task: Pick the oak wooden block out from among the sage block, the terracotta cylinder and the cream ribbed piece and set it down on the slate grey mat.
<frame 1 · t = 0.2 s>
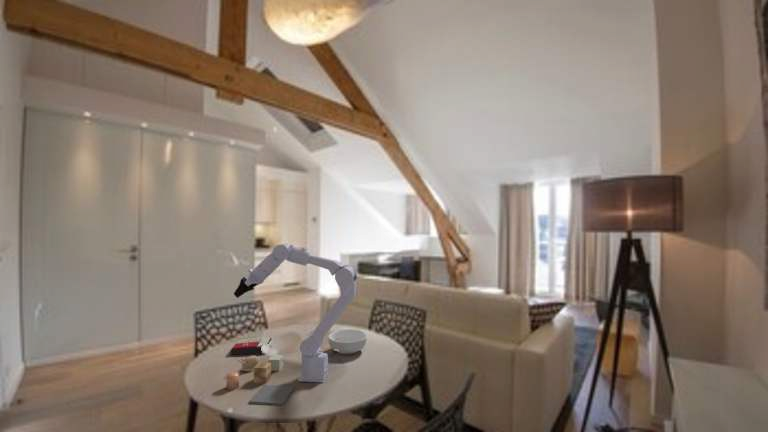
hand: (240, 292, 130), 31 cm above the table, tool tilted 45°, fingers open, 7 cm apart
cream ribbed piece: (249, 370, 134), on the table
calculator: (252, 351, 153), on the table
sage block: (276, 368, 135), on the table
terracotta cylinder: (232, 387, 120), on the table
oak block: (262, 380, 125), on the table
cereal bowl: (347, 351, 153), on the table
slate mat: (272, 395, 114), on the table
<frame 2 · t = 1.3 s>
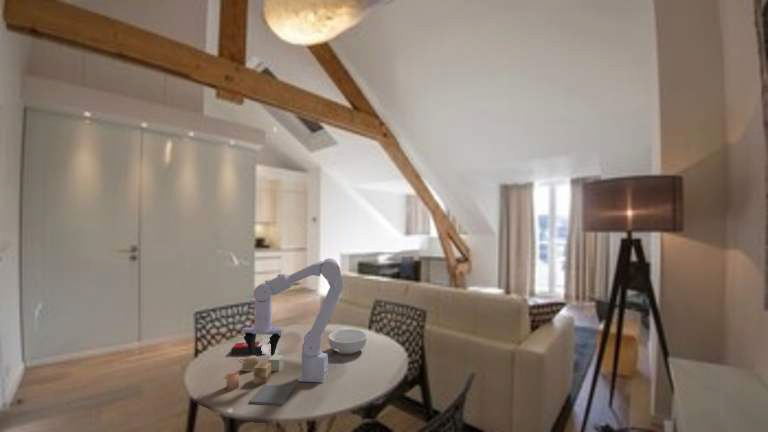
hand: (262, 354, 125), 9 cm above the table, tool pointing down, fingers open, 7 cm apart
nothing on the table moved.
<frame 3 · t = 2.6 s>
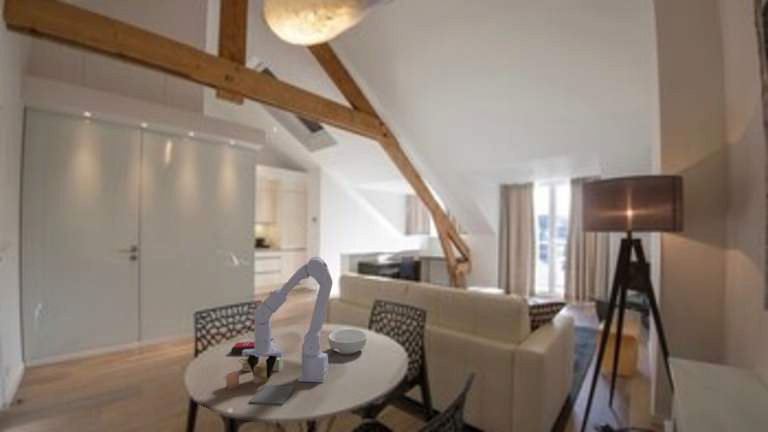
hand: (262, 376, 125), 1 cm above the table, tool pointing down, fingers closed on oak block, 4 cm apart
oak block: (262, 380, 125), on the table, touching gripper
everything else where it was.
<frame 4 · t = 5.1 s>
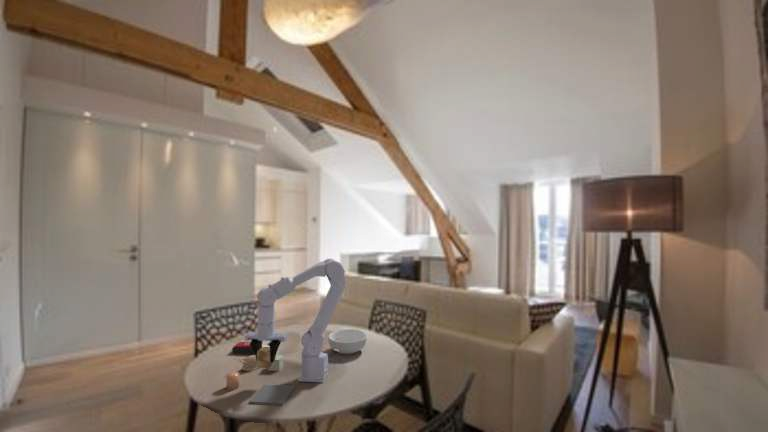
hand: (265, 360, 122), 8 cm above the table, tool pointing down, fingers closed on oak block, 4 cm apart
oak block: (265, 365, 122), point 7 cm above the table, touching gripper
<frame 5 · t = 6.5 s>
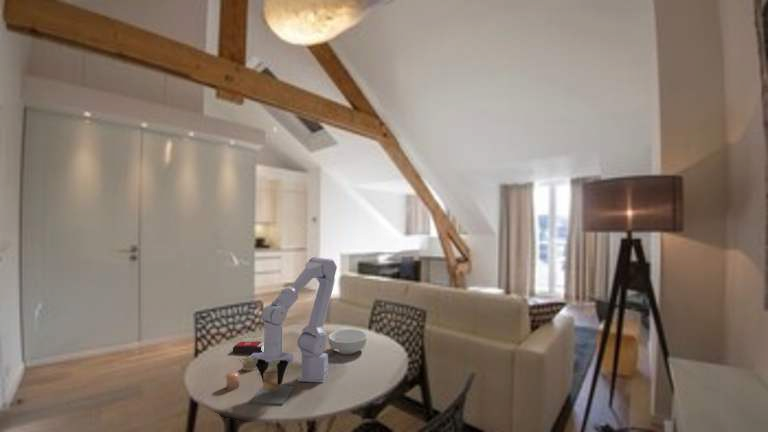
hand: (272, 382, 114), 4 cm above the table, tool pointing down, fingers closed on oak block, 4 cm apart
oak block: (272, 386, 114), point 3 cm above the table, touching gripper
when the fingers open (4 cm above the table, at t = 7.5 s): oak block drops 2 cm, resting on slate mat.
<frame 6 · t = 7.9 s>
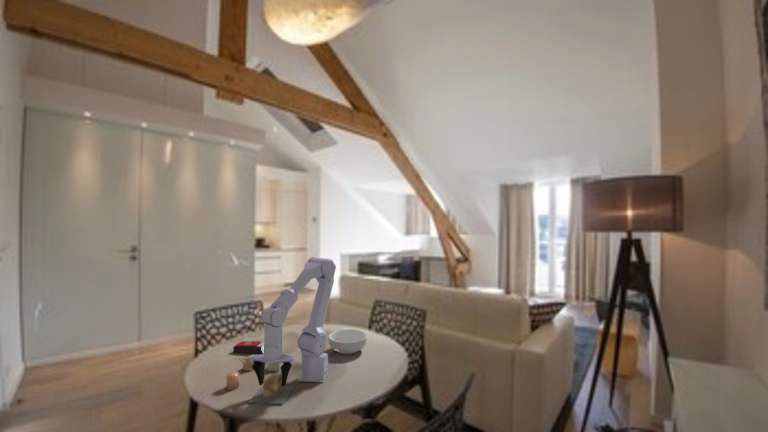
hand: (272, 384, 114), 4 cm above the table, tool pointing down, fingers open, 7 cm apart
oak block: (272, 393, 114), point 1 cm above the table, touching slate mat
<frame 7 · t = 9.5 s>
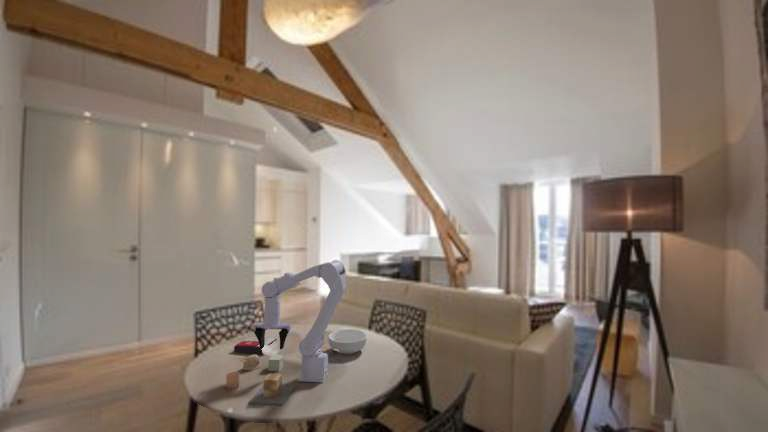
hand: (272, 348, 131), 9 cm above the table, tool pointing down, fingers open, 7 cm apart
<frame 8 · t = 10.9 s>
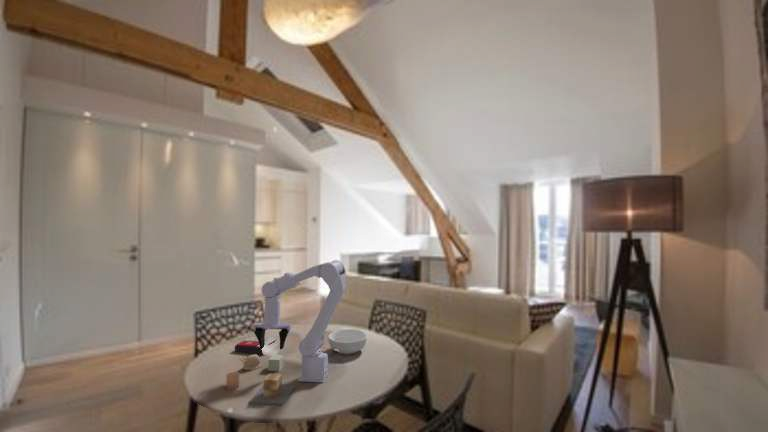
hand: (272, 348, 131), 9 cm above the table, tool pointing down, fingers open, 7 cm apart
at the end: oak block inside the target area on the slate mat (0.0 cm from its centre), point 0.6 cm above the slate mat's base; oak block tilted 0°; the gripper is holding nothing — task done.
